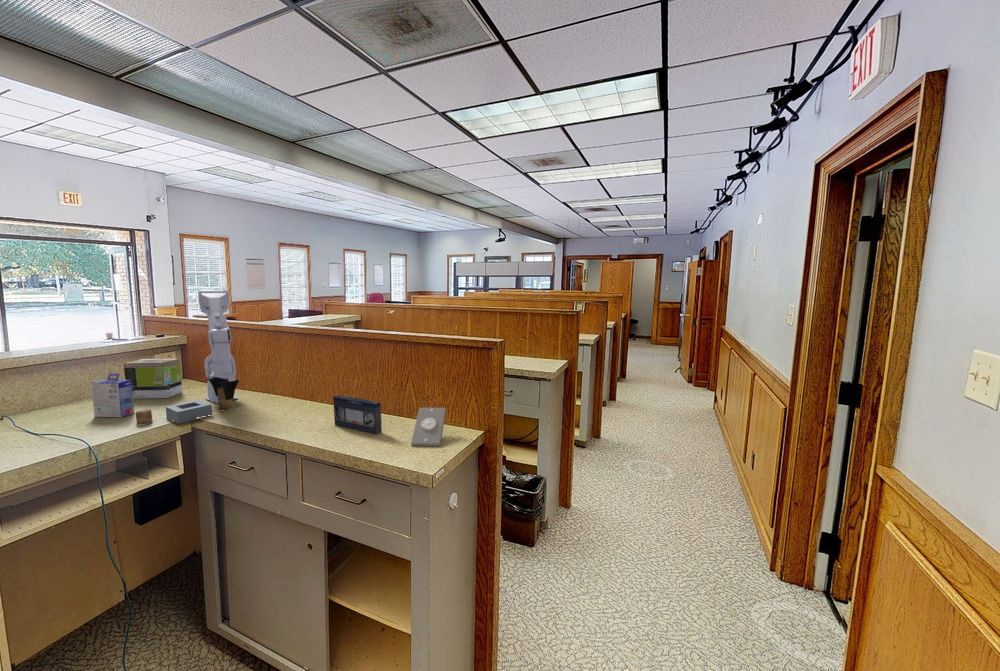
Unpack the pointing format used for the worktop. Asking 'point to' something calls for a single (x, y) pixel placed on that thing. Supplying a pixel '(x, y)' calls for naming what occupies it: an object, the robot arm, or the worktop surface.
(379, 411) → the vhs cassette tape
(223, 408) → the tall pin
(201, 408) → the block
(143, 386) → the tea box
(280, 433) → the worktop surface
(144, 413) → the brown wooden cube
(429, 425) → the light switch
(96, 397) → the ink cartridge box
